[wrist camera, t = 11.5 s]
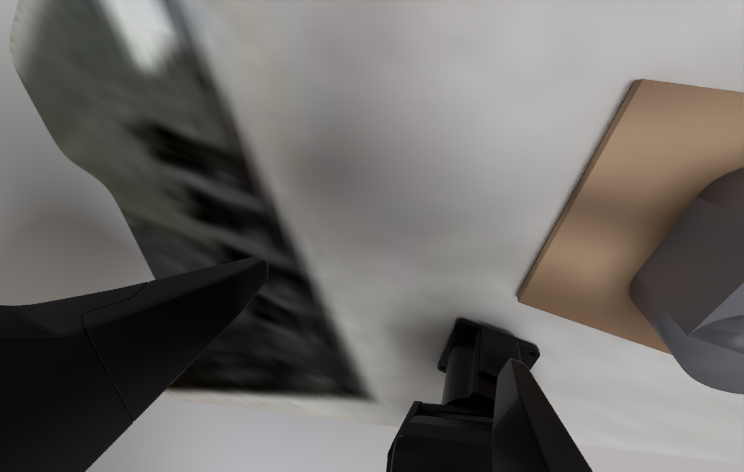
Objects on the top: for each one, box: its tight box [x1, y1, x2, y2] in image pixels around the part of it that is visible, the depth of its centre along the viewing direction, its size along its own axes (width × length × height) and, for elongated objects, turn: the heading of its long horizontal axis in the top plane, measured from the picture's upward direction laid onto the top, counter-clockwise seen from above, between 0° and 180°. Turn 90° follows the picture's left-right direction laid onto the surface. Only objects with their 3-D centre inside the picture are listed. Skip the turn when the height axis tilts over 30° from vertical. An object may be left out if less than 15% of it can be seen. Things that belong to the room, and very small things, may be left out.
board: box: [517, 79, 744, 355], centre depth 15 cm, size 14×14×1 cm
